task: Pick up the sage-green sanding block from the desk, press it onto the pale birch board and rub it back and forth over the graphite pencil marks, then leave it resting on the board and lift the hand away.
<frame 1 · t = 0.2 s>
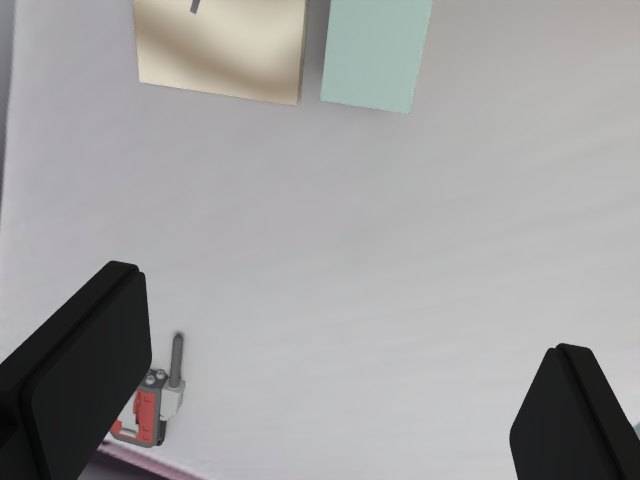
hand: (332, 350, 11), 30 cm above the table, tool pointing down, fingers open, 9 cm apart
sanding block: (382, 16, 35), on the table
walkie-talkie: (152, 379, 59), on the table
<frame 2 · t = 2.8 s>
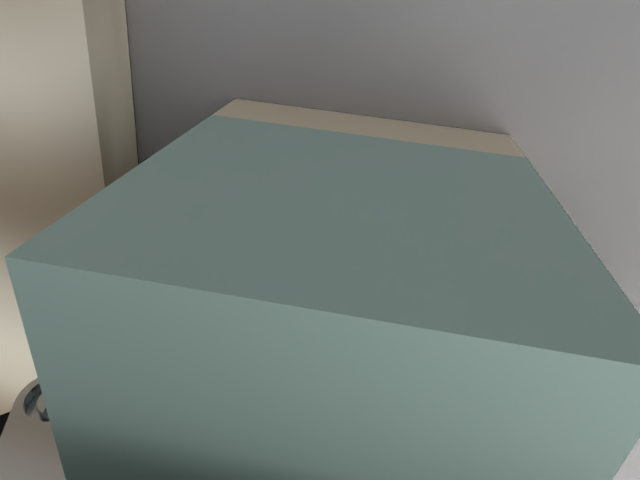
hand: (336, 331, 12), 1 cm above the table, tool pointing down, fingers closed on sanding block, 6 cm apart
sanding block: (342, 301, 13), on the table, touching gripper
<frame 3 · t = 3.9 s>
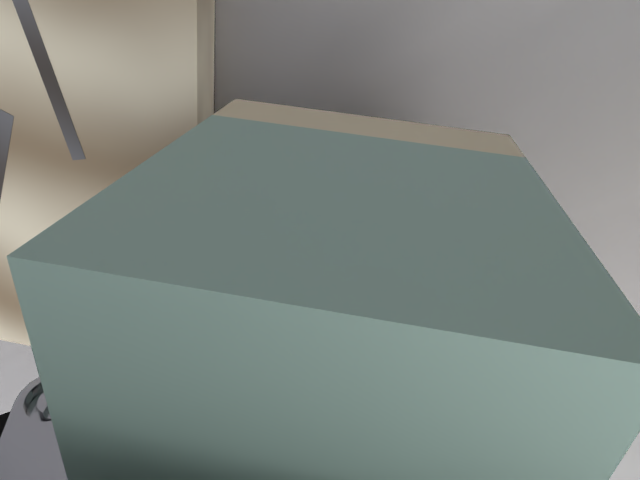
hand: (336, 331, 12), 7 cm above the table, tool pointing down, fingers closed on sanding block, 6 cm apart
sanding block: (342, 300, 13), point 5 cm above the table, touching gripper
board: (42, 114, 17), on the table
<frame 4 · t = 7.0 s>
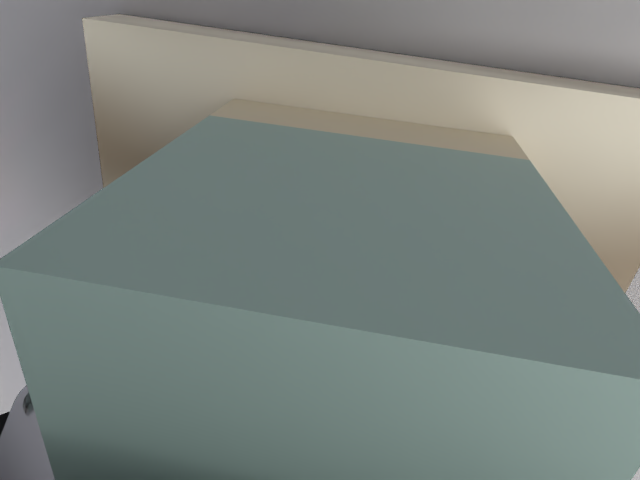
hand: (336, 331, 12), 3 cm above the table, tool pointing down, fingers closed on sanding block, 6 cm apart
sanding block: (342, 303, 12), point 2 cm above the table, touching board, gripper
board: (332, 368, 16), on the table
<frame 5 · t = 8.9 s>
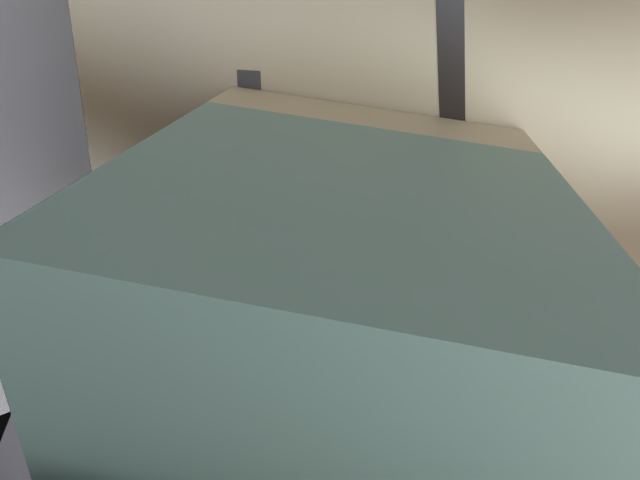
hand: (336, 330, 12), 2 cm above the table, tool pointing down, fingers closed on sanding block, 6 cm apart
sanding block: (341, 302, 12), point 2 cm above the table, touching board, gripper
board: (366, 159, 12), on the table
when the fingers open (2 cm above the table, at t = 11.5 s): sanding block stays where it is, resting on board.
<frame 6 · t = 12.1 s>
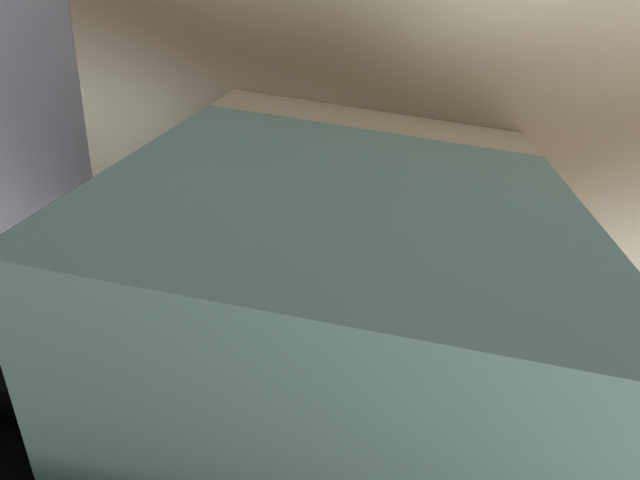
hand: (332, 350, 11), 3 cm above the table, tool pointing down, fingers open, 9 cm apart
sanding block: (342, 304, 12), point 2 cm above the table, touching board
board: (346, 280, 14), on the table
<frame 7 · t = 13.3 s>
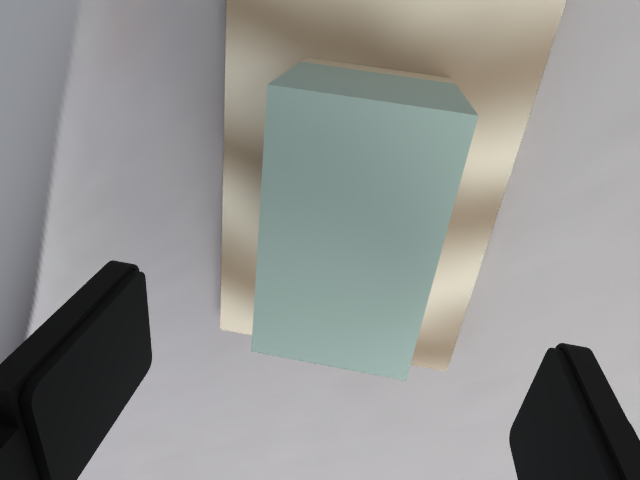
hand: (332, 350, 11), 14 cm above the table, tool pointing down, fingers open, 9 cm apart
sanding block: (360, 180, 22), point 2 cm above the table, touching board
board: (360, 175, 23), on the table
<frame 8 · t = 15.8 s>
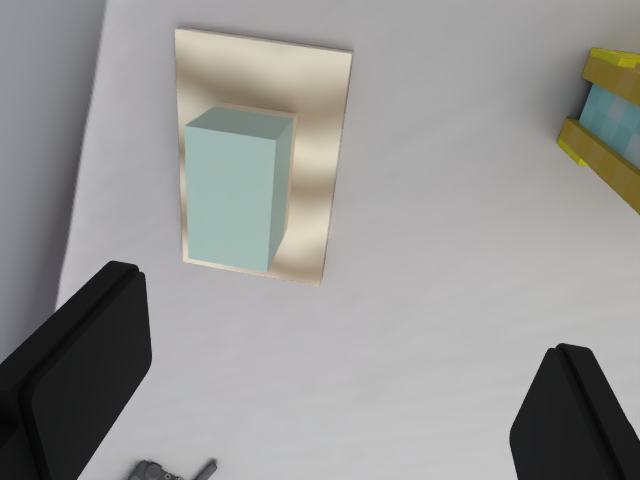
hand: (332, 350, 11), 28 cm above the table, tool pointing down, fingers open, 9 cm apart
sanding block: (256, 169, 38), point 2 cm above the table, touching board
walkie-talkie: (165, 478, 64), on the table
board: (260, 166, 40), on the table
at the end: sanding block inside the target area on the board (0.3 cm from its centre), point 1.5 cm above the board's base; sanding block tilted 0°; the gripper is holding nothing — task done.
